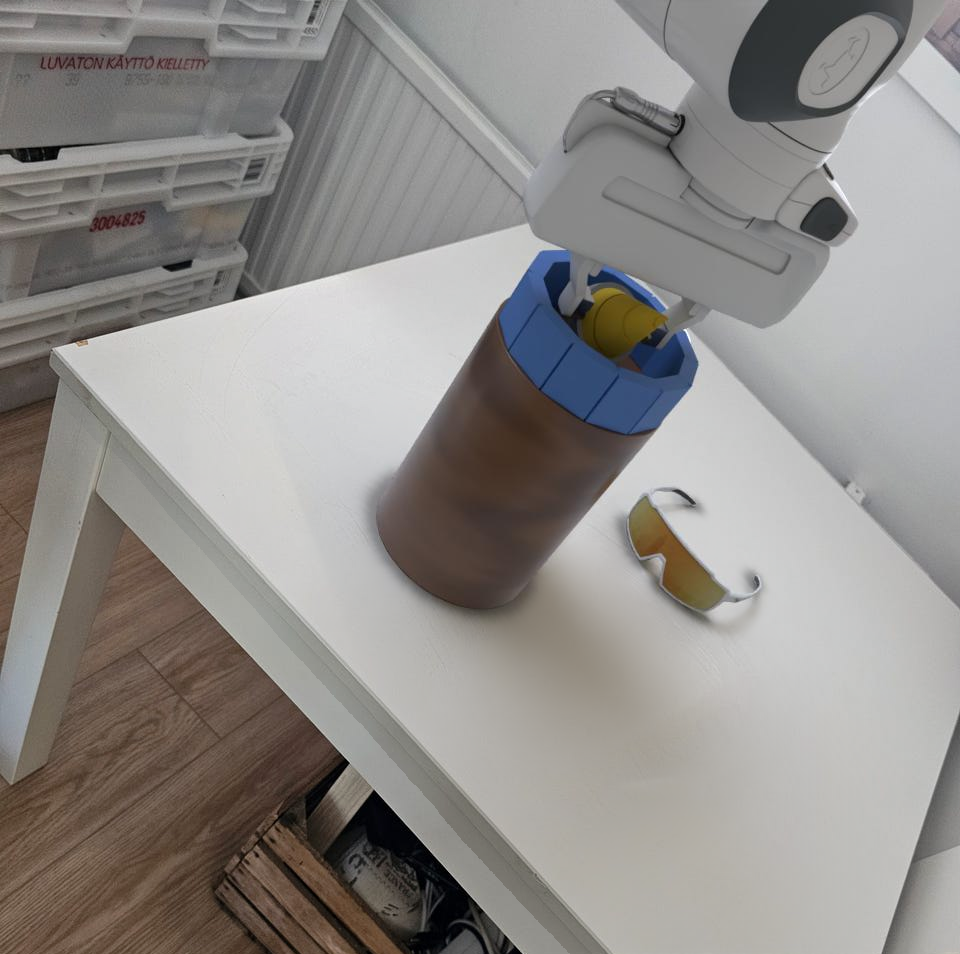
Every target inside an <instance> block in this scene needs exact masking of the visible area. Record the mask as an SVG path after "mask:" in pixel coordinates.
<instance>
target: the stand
mask: <svg viewBox="0 0 960 954" xmlns="http://www.w3.org/2000/svg"><path fill="white" fill-rule="evenodd" d="M509 298H510V296H509V297H507V298H506V299H504V300H503V302H501V304H499V307H498V308H497V310H496V311H495V313H494V315H493V316H492V318H491V320H490V321H489V323H488V324H487V326H486V327H485V329H484V330H483V332H482V334H481V335H480V336H479V338H478V340H477V342H476V343H475V344H474V346H473V348H472V349H471V351H470V353H469V354H468V356H467V358H466V359H465V361H464V363H463V364H462V366H460V369H459V370H458V372H457V374H456V375H455V377H454V378H453V380H452V381H451V383H450V385H449V387H448V388H447V390H446V392H445V393H444V395H443V396H442V398H441V400H440V401H439V403H438V404H437V406H436V407H435V409H434V411H433V412H432V414H431V416H430V417H429V419H428V420H427V421H426V423H425V425H424V427H423V428H422V430H421V431H420V433H419V435H418V436H417V438H416V439H415V441H414V443H413V444H412V446H411V447H410V448H409V451H408V452H407V454H406V456H405V457H404V458H403V460H402V462H401V463H400V465H399V466H398V468H397V470H396V471H395V473H394V475H393V476H392V478H391V479H390V481H389V483H388V484H387V486H386V488H385V489H384V491H383V492H382V494H381V496H380V498H379V500H378V504H377V508H376V523H377V528H378V533H379V535H380V538H381V540H382V543H383V545H384V547H385V549H386V550H387V552H388V553H389V555H390V557H391V558H392V561H394V562H395V563H396V565H397V566H398V567H399V569H400V570H402V571H403V573H404V574H405V575H406V576H407V577H409V578H410V579H411V580H412V581H413V582H414V583H416V584H417V585H418V586H420V587H421V588H423V590H425V591H427V592H428V593H430V594H432V595H434V596H435V597H437V598H439V599H441V600H442V601H443V600H444V601H446V602H448V603H450V604H454V605H456V606H461V607H464V608H470V609H479V610H480V609H481V610H484V609H485V610H486V609H494V608H498V607H503V606H505V605H506V604H509V603H511V602H512V601H513V600H515V599H516V598H517V596H518V595H520V594H521V592H522V591H523V590H524V588H526V586H527V585H528V583H530V581H531V580H532V579H533V578H534V576H535V575H537V573H538V572H539V571H540V570H541V568H542V567H543V566H544V565H545V564H546V563H547V561H548V560H549V559H550V557H552V555H553V554H554V553H555V551H557V549H558V548H559V547H560V546H561V545H562V543H563V542H565V540H566V539H567V537H569V535H571V533H572V532H573V530H574V529H575V528H576V527H577V526H578V524H580V522H581V521H582V520H583V518H584V517H586V515H587V514H588V513H589V511H590V510H591V509H592V508H593V507H594V505H595V504H596V503H598V501H599V500H600V498H601V497H602V496H603V495H604V494H605V492H606V491H607V490H608V489H609V488H610V487H611V485H612V484H613V483H614V482H615V481H616V479H617V478H618V477H619V476H620V475H621V473H622V472H623V471H624V470H625V469H626V467H627V466H628V465H629V464H630V463H631V462H632V461H633V459H634V458H635V457H636V456H637V455H638V454H639V452H641V450H642V449H643V448H644V446H645V445H646V444H647V443H648V441H650V439H651V438H652V437H653V436H654V435H655V433H656V432H657V431H658V429H660V427H661V426H662V424H663V423H664V420H663V421H662V422H661V424H660V425H659V426H658V427H657V428H655V429H650V430H646V431H642V432H638V433H633V434H628V433H627V434H623V433H619V432H616V431H613V430H610V429H607V428H603V427H600V426H597V425H594V424H591V423H587V422H585V419H584V420H582V419H580V418H579V417H577V416H576V415H574V414H573V413H572V412H570V411H569V410H567V409H566V408H564V407H563V406H562V405H560V404H559V403H557V402H556V401H554V400H553V399H551V398H550V397H549V396H547V395H546V394H544V393H543V392H541V389H542V388H541V389H538V388H537V387H536V385H535V384H534V383H533V382H532V380H531V379H530V378H529V377H528V376H527V374H526V373H525V372H524V371H523V369H522V368H521V367H520V366H519V364H518V363H517V362H516V361H515V360H514V358H513V357H512V356H511V355H510V353H509V350H507V347H506V343H505V340H504V336H503V332H502V328H501V325H500V321H499V314H500V312H501V311H502V309H503V307H504V306H505V304H506V303H507V301H508V299H509ZM552 307H553V308H554V309H555V310H556V312H557V313H558V314H559V315H560V316H561V318H562V319H563V320H564V321H565V322H566V324H567V325H568V326H569V318H570V317H568V316H565V315H563V314H561V311H560V308H557V307H554V306H552ZM615 365H617V366H619V367H622V368H625V369H627V370H630V371H633V372H636V373H639V374H642V375H643V373H642V370H641V369H640V368H639V366H638V365H637V364H636V363H635V362H634V360H633V359H632V358H631V357H630V356H628V357H627V358H625V359H624V360H622V361H620V362H618V363H615Z"/></svg>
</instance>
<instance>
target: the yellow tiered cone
mask: <svg viewBox="0 0 960 954" xmlns="http://www.w3.org/2000/svg"><path fill="white" fill-rule="evenodd" d="M589 288H590V290H591V293H590V294H591V295H592V296H593V299H594V302H595V304H594V305H593V306H592V308H591V309H590V311H588V312H586V316H585V318H584V319H583V320H581V321H580V320H577V319H574V318H571V317H570V318H569V327H570V328H571V329H572V331H573V332H574V333H575V334H576V335H577V337H578V338H579V339H580V340H581V341H583V342H584V343H586V344H587V345H588V346H590V347H591V348H593V349H594V350H595V351H597V352H598V353H600V354H601V355H602V356H604V357H605V358H607V359H608V360H610V361H611V362H612V363H614V364H615V363H618V362H620V361H622V360H624V359H625V358H627V357H628V356H629V355H630V354H631V352H632V351H633V349H634V348H635V346H636V344H637V343H638V342H640V341H641V340H642V339H644V338H645V337H646V336H648V335H649V334H650V333H652V332H653V331H654V330H656V328H658V327H660V326H661V325H662V324H664V323H665V322H666V321H667V320H668V317H667V316H665V315H663V314H661V313H660V312H658V311H656V310H654V309H652V308H651V307H649V306H647V305H645V304H643V303H642V302H640V301H638V300H636V299H635V298H634V296H633V295H632V294H631V292H630V291H629V290H628V289H626V288H625V287H624V286H622V285H620V284H618V283H613V282H605V283H598V284H594V285H591V286H589Z"/></svg>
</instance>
